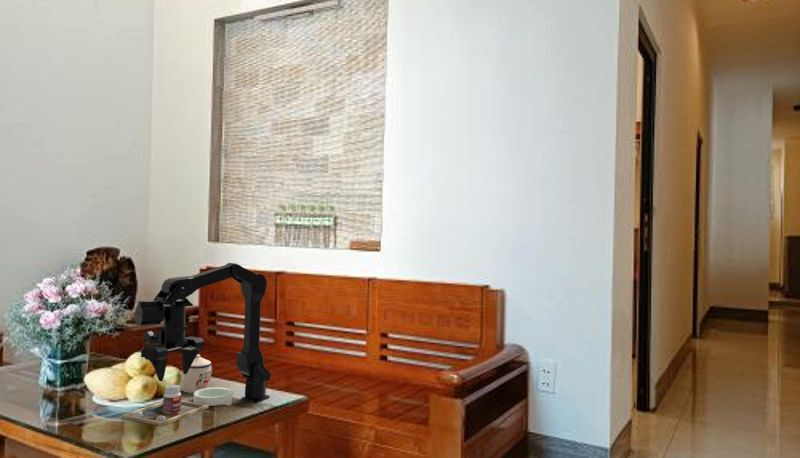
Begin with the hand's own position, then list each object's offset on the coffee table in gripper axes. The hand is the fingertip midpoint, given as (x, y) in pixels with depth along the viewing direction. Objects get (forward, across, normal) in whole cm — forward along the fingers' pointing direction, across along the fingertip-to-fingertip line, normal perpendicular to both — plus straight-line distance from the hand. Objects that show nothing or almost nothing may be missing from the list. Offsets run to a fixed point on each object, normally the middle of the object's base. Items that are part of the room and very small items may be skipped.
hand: (173, 377), depth 169 cm
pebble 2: (+9, +8, +4) cm, 13 cm away
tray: (+11, +2, 0) cm, 11 cm away
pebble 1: (+9, +8, -4) cm, 13 cm away
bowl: (+11, -13, +3) cm, 18 cm away
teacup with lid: (+11, -25, -13) cm, 30 cm away
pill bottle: (+11, 0, 0) cm, 11 cm away
